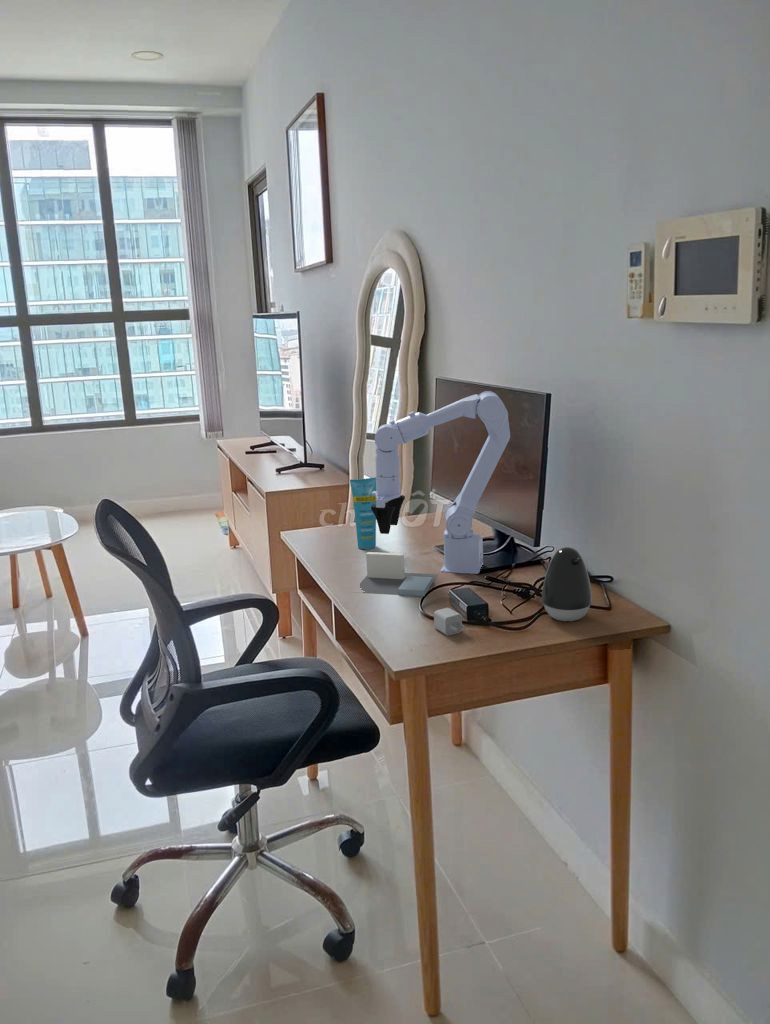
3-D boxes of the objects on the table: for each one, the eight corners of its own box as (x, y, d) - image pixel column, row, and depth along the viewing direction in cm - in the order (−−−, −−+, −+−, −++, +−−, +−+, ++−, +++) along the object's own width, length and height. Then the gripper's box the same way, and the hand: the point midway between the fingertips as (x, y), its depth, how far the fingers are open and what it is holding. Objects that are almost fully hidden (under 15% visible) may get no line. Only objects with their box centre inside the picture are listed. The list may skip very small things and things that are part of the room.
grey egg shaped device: (556, 629, 171) (557, 558, 167) (533, 611, 181) (533, 543, 177) (601, 622, 174) (603, 551, 170) (576, 605, 183) (577, 537, 179)
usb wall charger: (450, 624, 176) (450, 606, 175) (469, 636, 170) (469, 617, 169) (434, 629, 174) (433, 611, 173) (452, 640, 168) (452, 621, 167)
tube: (355, 551, 227) (351, 481, 222) (352, 546, 232) (348, 477, 227) (382, 548, 229) (379, 478, 224) (378, 543, 233) (375, 474, 228)
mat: (438, 575, 205) (438, 574, 205) (424, 597, 191) (423, 596, 191) (370, 572, 210) (370, 570, 210) (352, 593, 196) (352, 592, 196)
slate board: (407, 581, 201) (407, 575, 201) (432, 582, 200) (432, 577, 199) (398, 594, 193) (398, 588, 192) (423, 596, 191) (423, 590, 191)
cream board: (404, 577, 204) (403, 553, 203) (403, 579, 203) (402, 555, 201) (368, 575, 207) (367, 551, 205) (367, 577, 205) (366, 553, 204)
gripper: (380, 468, 212) (381, 520, 215) (363, 480, 198) (364, 536, 202) (407, 469, 210) (408, 521, 214) (392, 482, 197) (393, 538, 200)
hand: (388, 529), depth 208 cm, fingers open, 7 cm apart
